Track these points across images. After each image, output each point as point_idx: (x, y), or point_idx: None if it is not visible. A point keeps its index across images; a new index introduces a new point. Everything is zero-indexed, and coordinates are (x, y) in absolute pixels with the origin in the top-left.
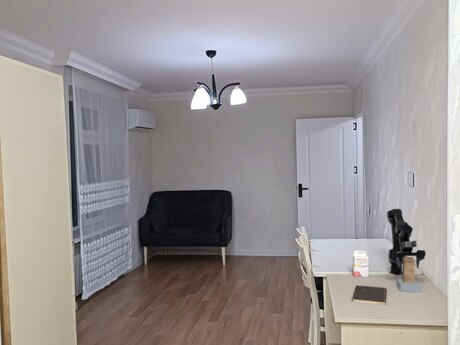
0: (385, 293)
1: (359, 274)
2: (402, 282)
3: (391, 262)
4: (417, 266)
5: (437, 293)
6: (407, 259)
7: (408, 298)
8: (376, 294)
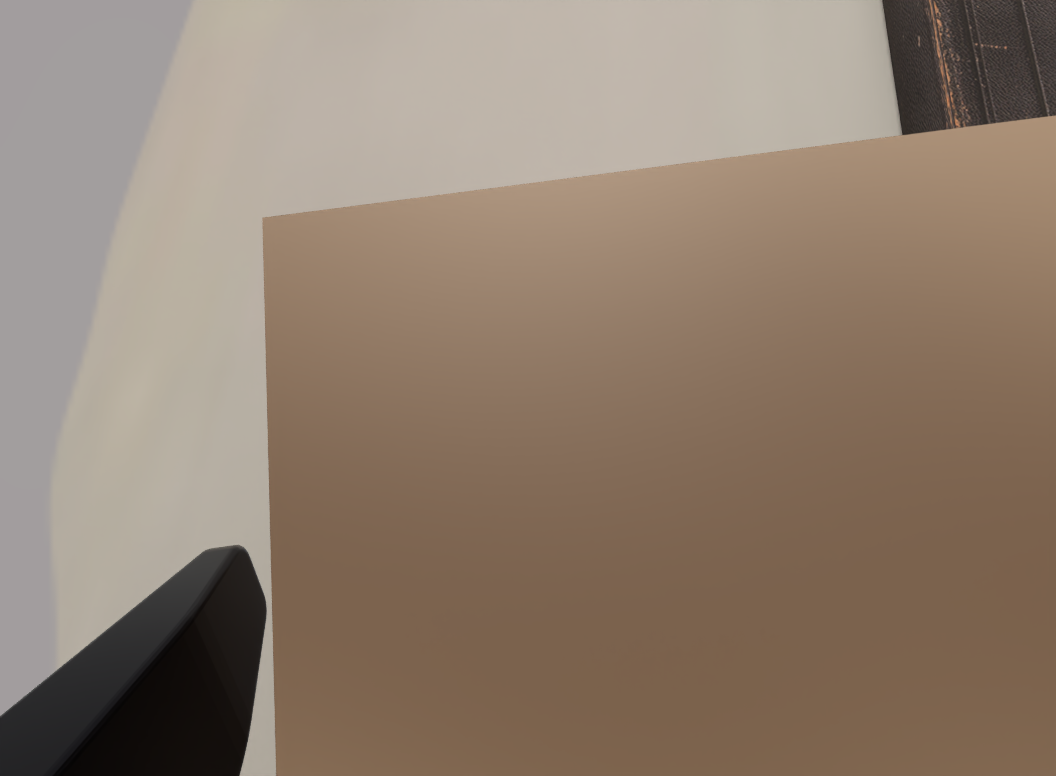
0: (937, 87)
1: None
2: None
3: None
4: (228, 570)
5: (104, 488)
6: (850, 143)
7: (594, 130)
8: (1052, 7)
